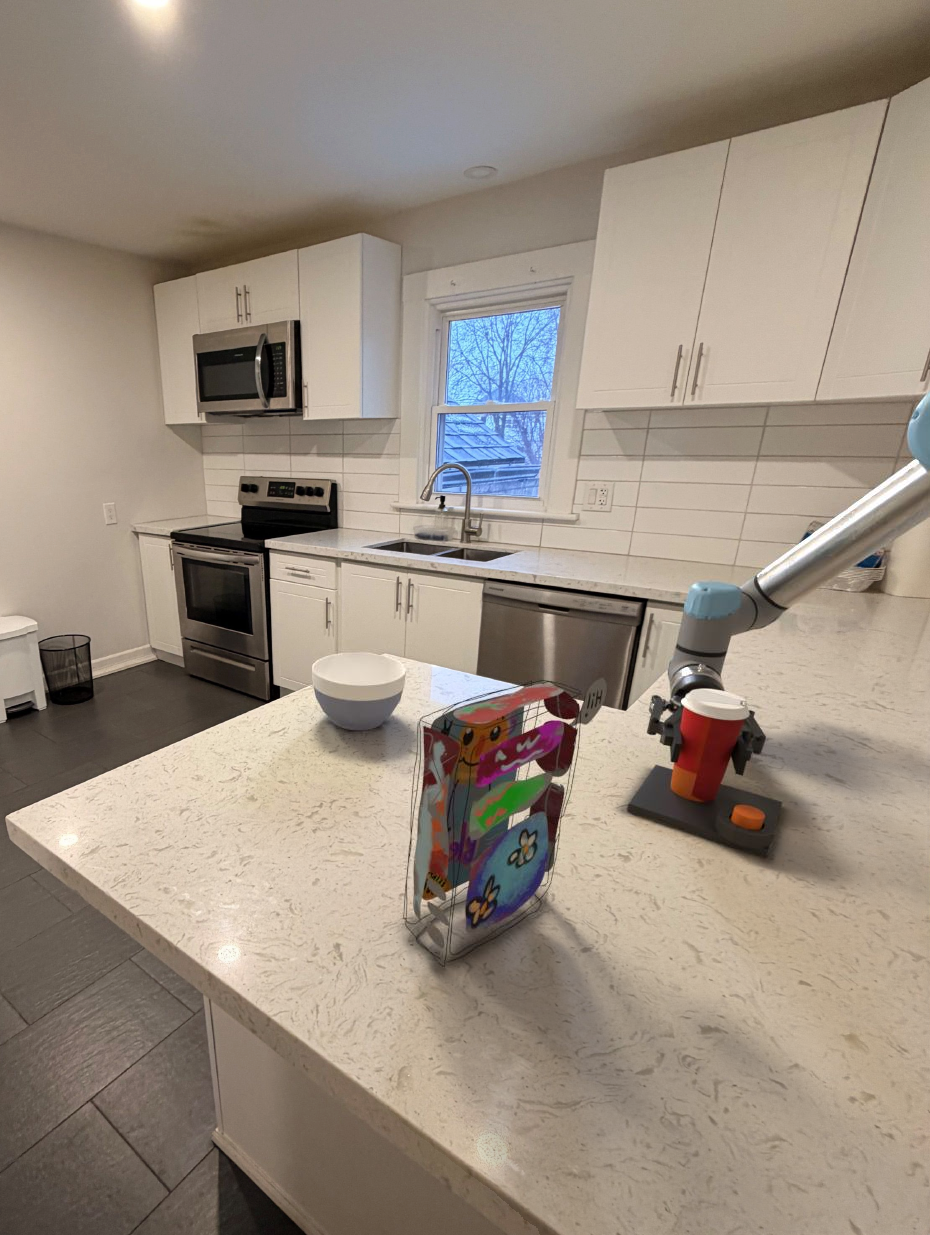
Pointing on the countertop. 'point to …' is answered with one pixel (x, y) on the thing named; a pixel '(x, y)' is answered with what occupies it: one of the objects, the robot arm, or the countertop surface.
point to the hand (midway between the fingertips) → (708, 759)
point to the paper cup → (707, 742)
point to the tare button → (748, 817)
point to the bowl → (358, 688)
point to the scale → (706, 812)
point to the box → (492, 803)
